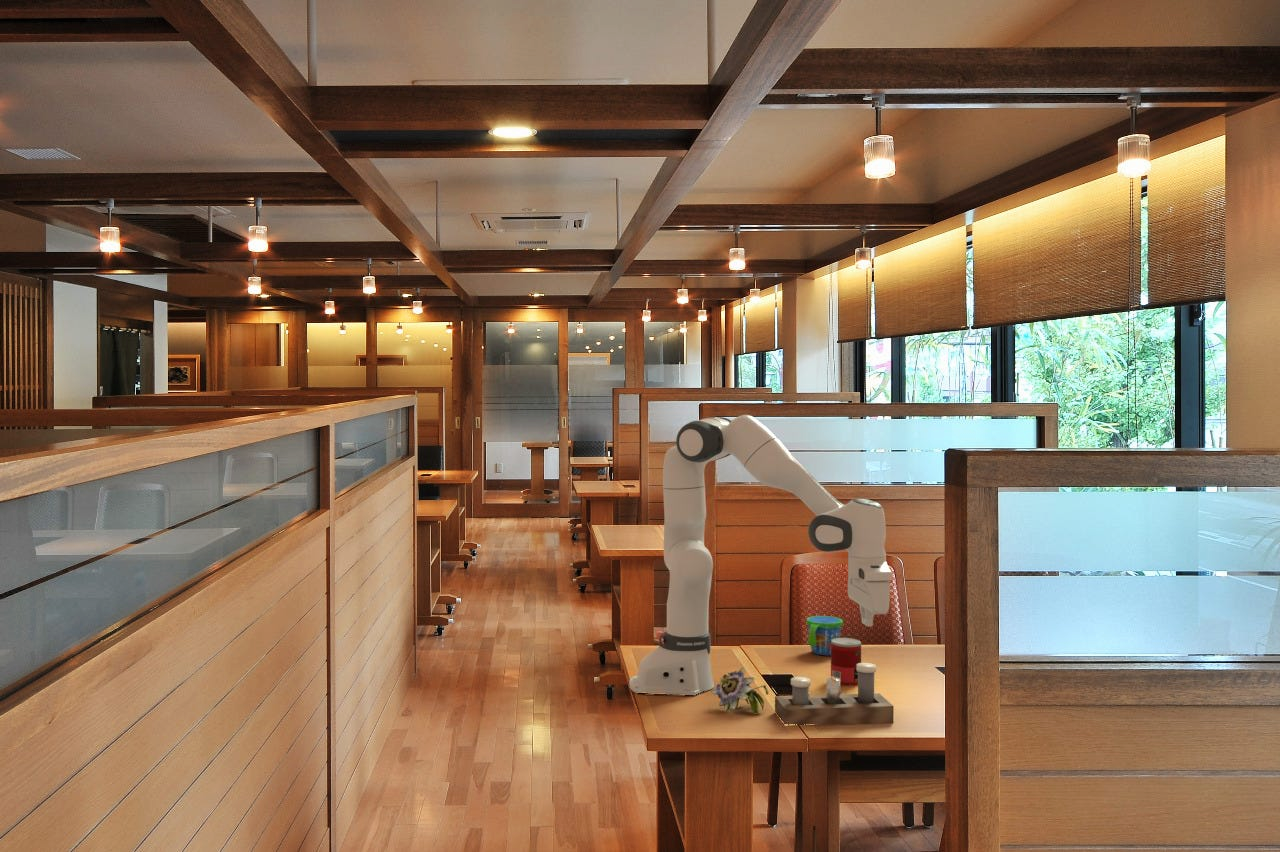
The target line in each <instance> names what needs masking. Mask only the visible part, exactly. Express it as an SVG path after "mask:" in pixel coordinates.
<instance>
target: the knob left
mask: <svg viewBox="0 0 1280 852" xmlns="http://www.w3.org/2000/svg"><path fill="white" fill-rule="evenodd" d="M790 685H791V686H792V691H791V692H792V695H791V696H792V705H793V706H795V705H809V695H810V693H809V692H810V691H809V687H810V686H811V679H810V678H809V677H804V676H795V677H791V678H790Z"/></svg>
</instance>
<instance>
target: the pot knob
mask: <svg viewBox="0 0 1280 852" xmlns="http://www.w3.org/2000/svg"><path fill="white" fill-rule="evenodd" d="M840 694H841V685H840V679H839V678H834V677H833V676H831V675H830V677H827V678H826V695H827V705H830V704H840Z"/></svg>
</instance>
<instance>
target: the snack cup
mask: <svg viewBox="0 0 1280 852" xmlns="http://www.w3.org/2000/svg"><path fill="white" fill-rule="evenodd" d="M805 622H806V625H807V627H808V639H807V643H808V645H809V646H810V649H811V653H813V654H816V655H818V656H831V640H832V639H835V638H841V629H842V627H843V625H844V621H843V619H842V618H839V617H835V616H831V615H830V616H829V615H813V616H808V617H807V618H806V621H805Z"/></svg>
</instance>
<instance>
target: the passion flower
mask: <svg viewBox="0 0 1280 852" xmlns="http://www.w3.org/2000/svg"><path fill="white" fill-rule="evenodd" d="M745 674H746V668H745V667H740V669H739V670H738V671H737V670H735V671H731V672H727V674H724V675H723V676H722V677H721V678H720V682H719V683H717V685H716V686H715V687H716V688H715V689H714V688H713V690H712V689H711V690H712V691H711V694H712V695H714V696H715V695H717V697H718V699H720V701H719V705H718V706H719V707H723V710H724V711H726V712H728V711H729V710H730V708H731V709H732V710H733V711H734V710H737V708H738V707H739V702H740V700H743V701H746V703H747V704H750V705H749V706H750V708H751V710H752V713H753V714H754V713H758V714H759V704H760V706H761V709H762V711H764V708H765V701H764V698H763V697H762V696H761V695H760V694H759V693H758V692H757V691H756V689H759V688H764V690H765V694H766V695H769V690H768V687H767V685H766V684H765V685H761V686H757V687H755V688H752V686H750V685H751V684H752V683H754V682H755V680H756V679H755V677H754V676H750V677H744V676H745ZM724 711H723V712H724Z"/></svg>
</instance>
